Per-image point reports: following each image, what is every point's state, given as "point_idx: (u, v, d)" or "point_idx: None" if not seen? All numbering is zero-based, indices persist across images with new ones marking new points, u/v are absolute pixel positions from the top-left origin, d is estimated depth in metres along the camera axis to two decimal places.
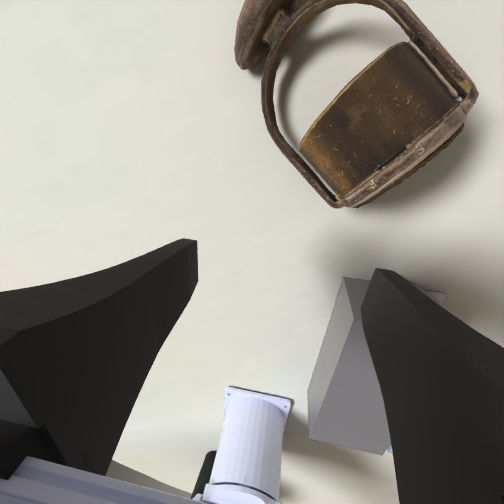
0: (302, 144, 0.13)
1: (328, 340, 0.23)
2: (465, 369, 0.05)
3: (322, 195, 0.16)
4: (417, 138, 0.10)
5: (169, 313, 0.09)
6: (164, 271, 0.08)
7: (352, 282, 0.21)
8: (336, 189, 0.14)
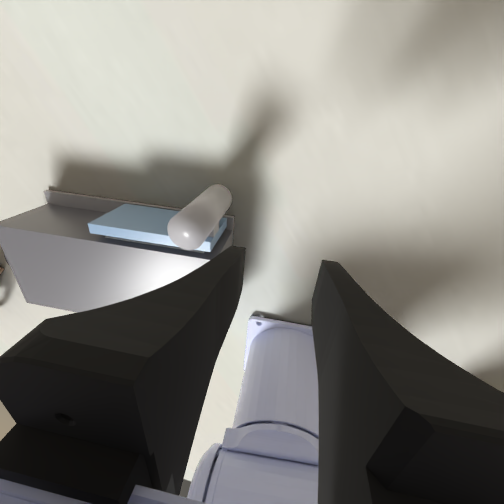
0: None
1: None
2: (359, 349, 0.05)
3: None
4: None
5: (224, 323, 0.09)
6: (225, 281, 0.08)
7: None
8: None
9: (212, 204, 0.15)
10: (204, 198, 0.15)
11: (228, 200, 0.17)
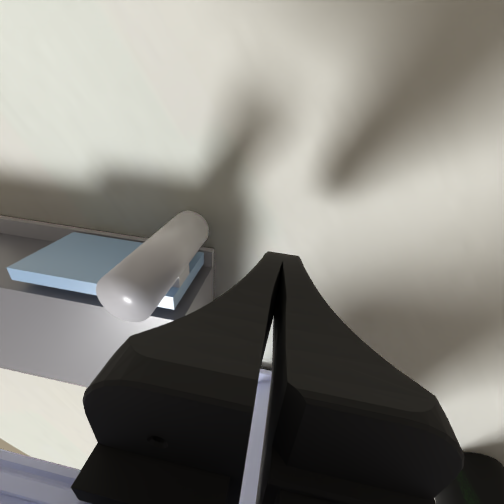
0: None
1: None
2: (284, 335, 0.05)
3: None
4: None
5: (267, 331, 0.09)
6: (274, 290, 0.08)
7: None
8: None
9: (172, 248, 0.10)
10: (161, 238, 0.10)
11: (202, 234, 0.13)
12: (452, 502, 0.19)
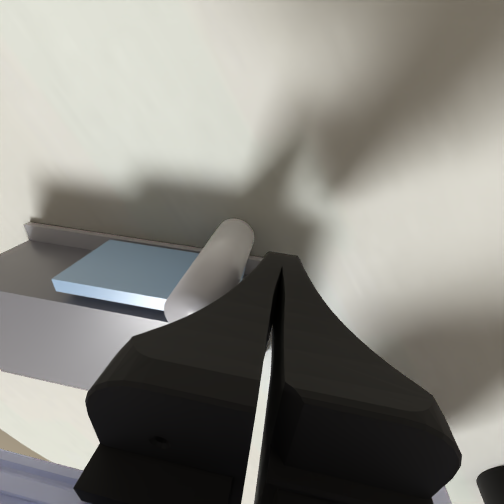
0: None
1: None
2: (282, 335, 0.05)
3: None
4: None
5: (269, 332, 0.09)
6: (275, 290, 0.08)
7: None
8: None
9: (231, 259, 0.10)
10: (219, 249, 0.10)
11: (250, 242, 0.12)
12: None
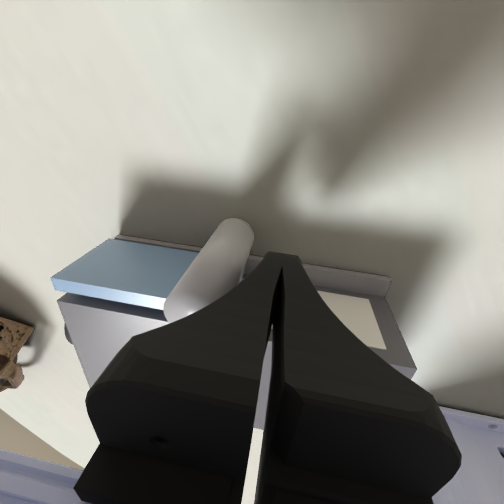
0: None
1: None
2: (282, 335, 0.05)
3: (11, 380, 0.20)
4: None
5: (269, 332, 0.09)
6: (275, 290, 0.08)
7: None
8: None
9: (231, 259, 0.10)
10: (219, 248, 0.10)
11: (250, 242, 0.12)
12: None
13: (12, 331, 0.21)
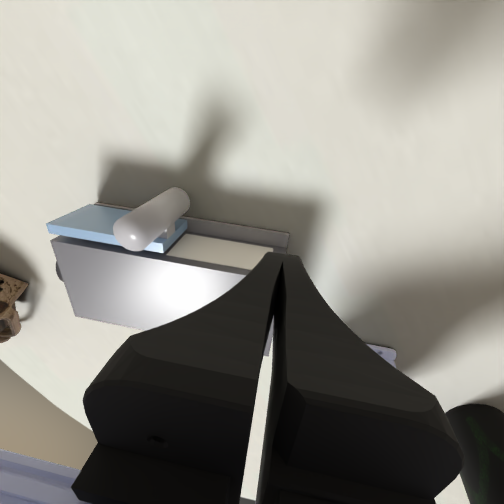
0: None
1: None
2: (284, 336, 0.05)
3: (10, 322, 0.26)
4: None
5: (267, 331, 0.09)
6: (274, 290, 0.08)
7: None
8: None
9: (161, 207, 0.15)
10: (155, 201, 0.16)
11: (184, 203, 0.18)
12: (464, 440, 0.24)
13: (10, 285, 0.26)
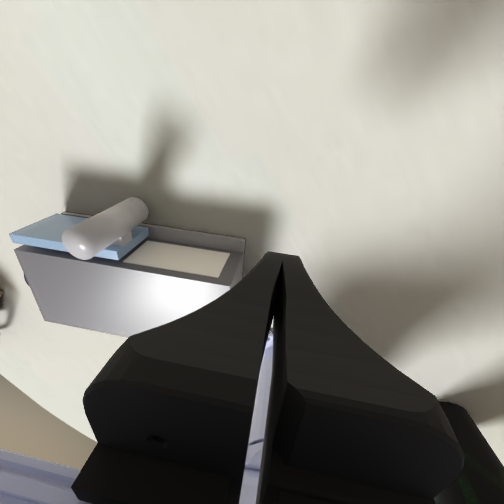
0: None
1: None
2: (284, 336, 0.05)
3: None
4: None
5: (267, 331, 0.09)
6: (274, 290, 0.08)
7: None
8: None
9: (112, 218, 0.16)
10: (107, 211, 0.17)
11: (141, 212, 0.19)
12: None
13: None
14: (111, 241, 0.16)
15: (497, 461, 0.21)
